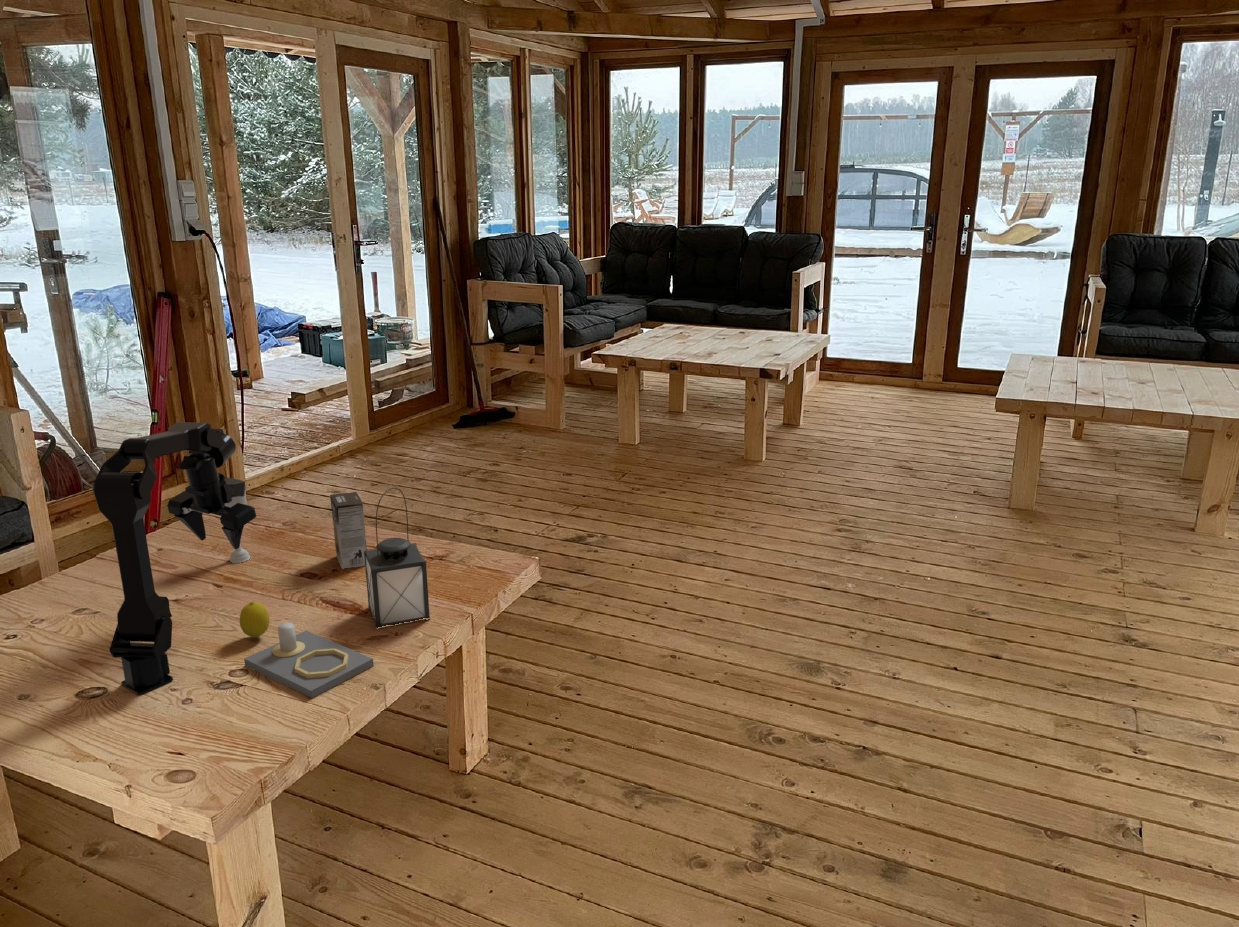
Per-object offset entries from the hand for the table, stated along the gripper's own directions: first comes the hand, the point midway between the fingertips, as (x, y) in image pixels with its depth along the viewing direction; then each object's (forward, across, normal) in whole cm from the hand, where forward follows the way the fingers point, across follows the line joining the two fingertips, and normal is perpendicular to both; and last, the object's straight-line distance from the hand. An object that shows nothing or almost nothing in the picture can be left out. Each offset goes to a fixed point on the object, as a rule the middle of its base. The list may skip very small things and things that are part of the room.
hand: (220, 543), depth 194 cm
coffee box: (+19, -10, -28) cm, 35 cm away
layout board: (+10, -34, +16) cm, 39 cm away
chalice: (+19, +16, -18) cm, 31 cm away
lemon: (+12, -17, +11) cm, 24 cm away
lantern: (+14, -37, -9) cm, 41 cm away
